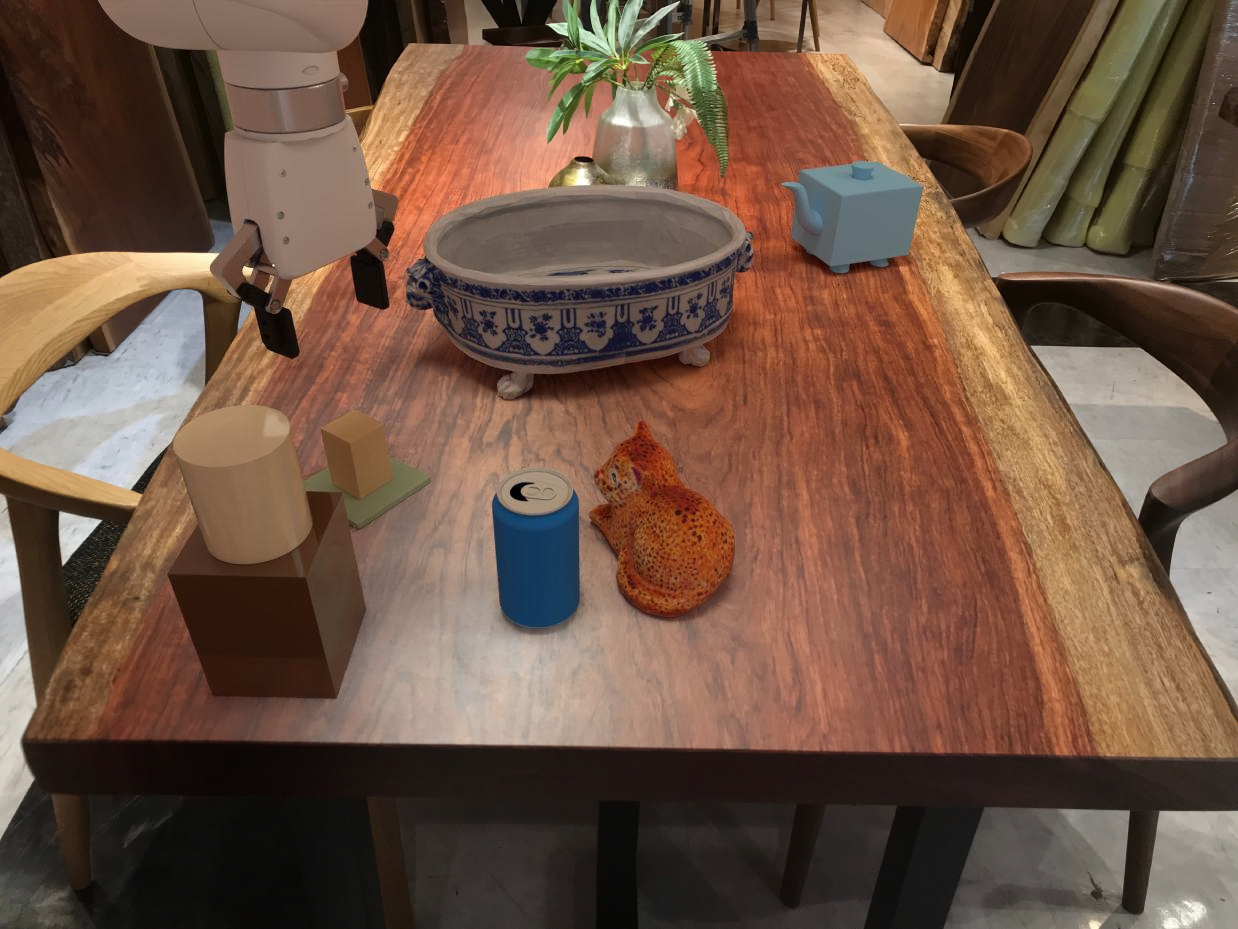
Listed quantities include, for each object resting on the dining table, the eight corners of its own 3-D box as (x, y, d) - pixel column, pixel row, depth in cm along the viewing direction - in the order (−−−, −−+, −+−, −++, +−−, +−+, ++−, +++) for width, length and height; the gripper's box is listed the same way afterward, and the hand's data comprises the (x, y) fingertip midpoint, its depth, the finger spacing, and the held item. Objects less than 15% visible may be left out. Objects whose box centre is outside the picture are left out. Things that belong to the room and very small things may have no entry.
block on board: (358, 529, 80) (346, 466, 76) (294, 492, 84) (279, 430, 80) (431, 481, 86) (423, 420, 82) (368, 448, 90) (357, 389, 86)
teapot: (878, 235, 139) (896, 145, 131) (921, 263, 131) (944, 169, 122) (752, 253, 132) (763, 159, 124) (789, 283, 124) (804, 185, 116)
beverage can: (510, 574, 76) (502, 459, 69) (585, 582, 75) (585, 467, 68) (491, 629, 70) (480, 512, 63) (571, 639, 70) (570, 521, 63)
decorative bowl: (702, 276, 125) (710, 169, 116) (796, 367, 105) (815, 246, 96) (396, 319, 113) (380, 203, 104) (436, 430, 93) (420, 298, 84)
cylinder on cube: (336, 698, 65) (280, 478, 53) (212, 695, 65) (129, 474, 53) (366, 609, 72) (323, 398, 60) (255, 606, 72) (190, 394, 60)
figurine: (568, 522, 81) (567, 431, 75) (671, 491, 85) (678, 402, 79) (649, 635, 70) (654, 538, 64) (762, 593, 74) (777, 498, 69)
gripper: (340, 72, 69) (372, 278, 79) (140, 124, 57) (208, 360, 67) (414, 86, 66) (437, 299, 76) (220, 145, 54) (278, 389, 64)
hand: (330, 327), depth 71 cm, fingers open, 9 cm apart
